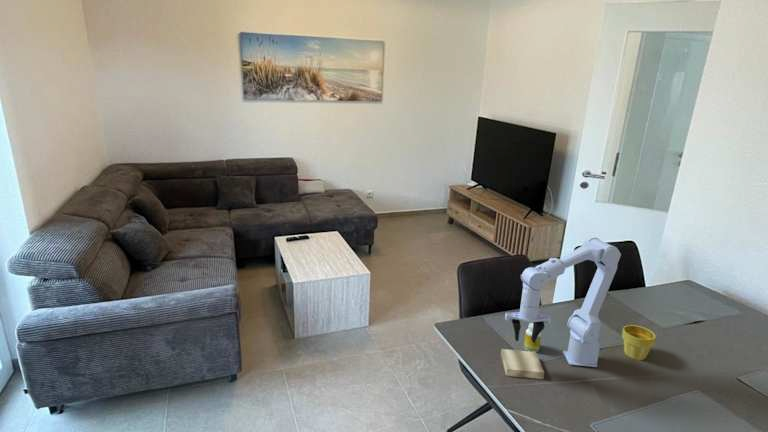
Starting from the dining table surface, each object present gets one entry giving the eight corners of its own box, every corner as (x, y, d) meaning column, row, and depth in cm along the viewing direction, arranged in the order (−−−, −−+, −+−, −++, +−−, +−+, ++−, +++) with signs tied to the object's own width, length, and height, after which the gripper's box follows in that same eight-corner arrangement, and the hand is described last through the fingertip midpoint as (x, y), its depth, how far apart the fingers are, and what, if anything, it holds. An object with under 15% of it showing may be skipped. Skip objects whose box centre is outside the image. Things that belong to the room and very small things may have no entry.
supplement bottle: (530, 343, 167) (533, 320, 164) (542, 350, 163) (545, 326, 160) (520, 347, 164) (523, 324, 161) (532, 354, 160) (536, 330, 157)
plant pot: (614, 355, 161) (619, 331, 159) (623, 344, 169) (627, 321, 166) (646, 368, 155) (652, 343, 152) (653, 356, 162) (659, 332, 159)
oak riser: (534, 359, 158) (535, 352, 157) (543, 380, 146) (544, 372, 145) (500, 356, 159) (501, 348, 158) (506, 376, 147) (507, 369, 146)
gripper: (549, 299, 149) (543, 335, 153) (505, 296, 150) (501, 332, 154) (555, 309, 142) (549, 347, 146) (509, 306, 144) (504, 343, 147)
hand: (524, 340), depth 150 cm, fingers open, 5 cm apart
